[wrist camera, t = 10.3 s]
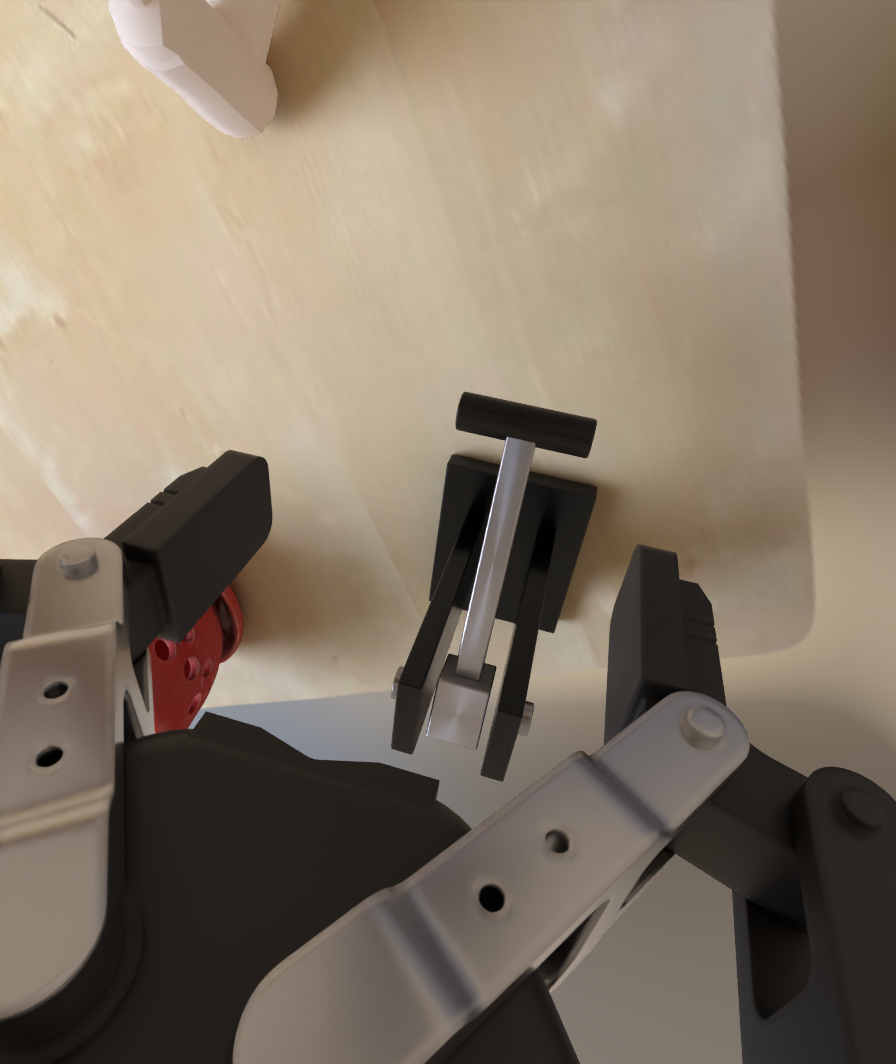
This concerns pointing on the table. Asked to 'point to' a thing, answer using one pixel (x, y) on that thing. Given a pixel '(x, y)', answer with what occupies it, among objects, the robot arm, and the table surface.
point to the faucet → (207, 55)
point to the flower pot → (193, 663)
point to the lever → (496, 550)
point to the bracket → (526, 597)
